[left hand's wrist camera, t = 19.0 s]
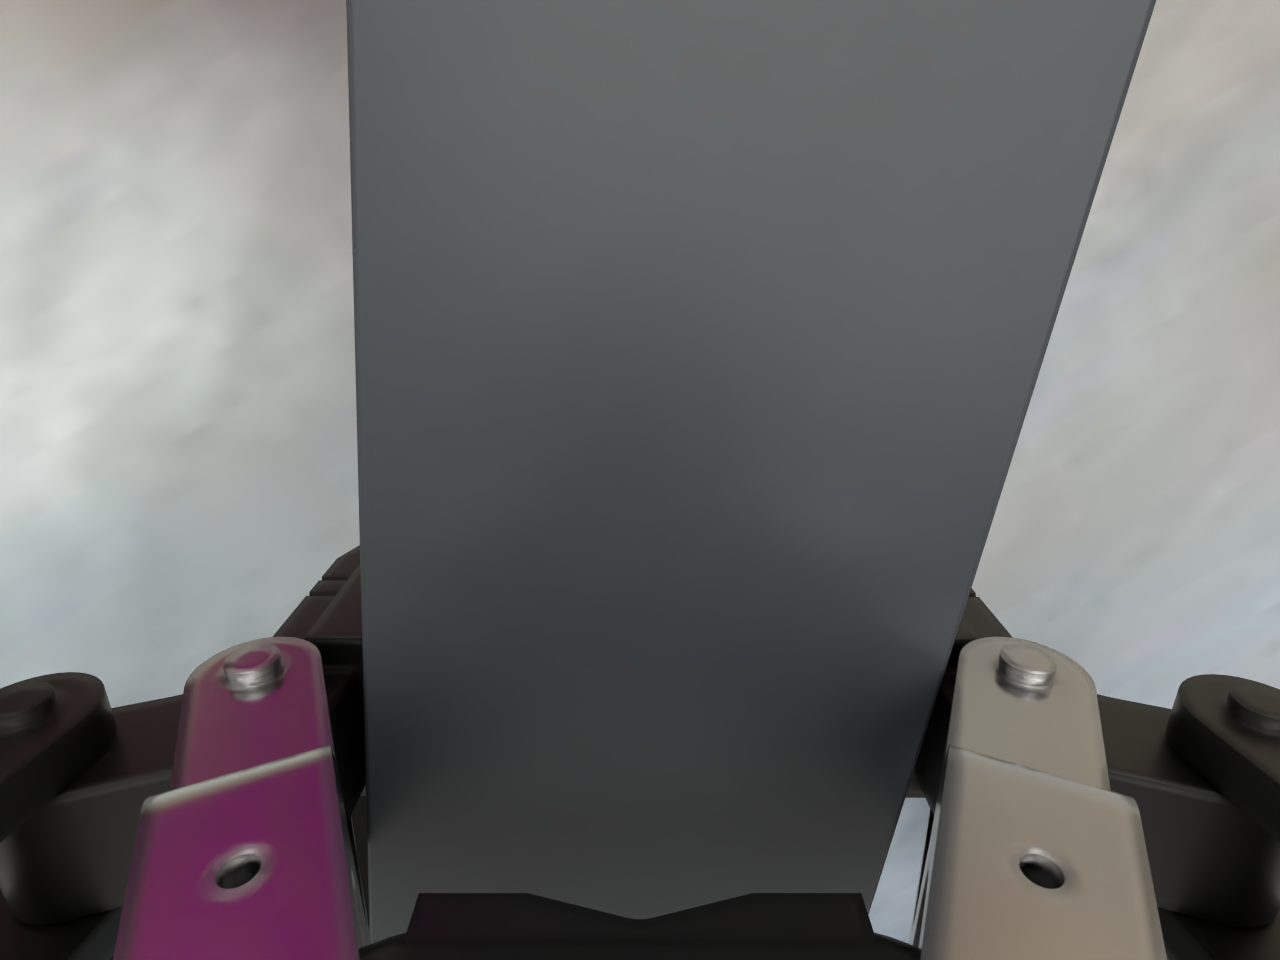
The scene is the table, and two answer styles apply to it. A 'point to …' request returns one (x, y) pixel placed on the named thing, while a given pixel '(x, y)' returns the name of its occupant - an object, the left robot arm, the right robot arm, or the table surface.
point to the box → (690, 416)
